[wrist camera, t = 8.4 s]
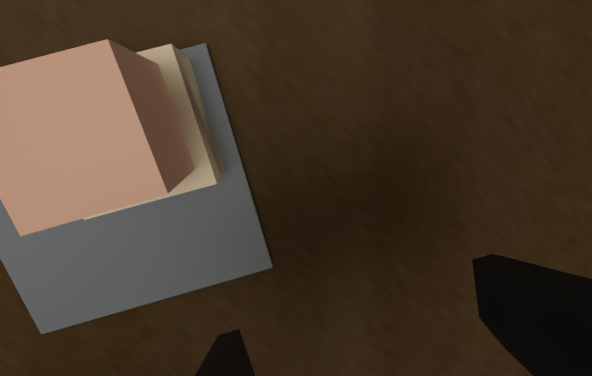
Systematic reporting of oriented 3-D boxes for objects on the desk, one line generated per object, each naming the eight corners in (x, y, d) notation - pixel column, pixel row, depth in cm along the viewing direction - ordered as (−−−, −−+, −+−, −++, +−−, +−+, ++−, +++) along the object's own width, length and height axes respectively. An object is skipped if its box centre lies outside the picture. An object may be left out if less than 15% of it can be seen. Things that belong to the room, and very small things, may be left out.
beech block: (224, 170, 18) (216, 183, 14) (117, 199, 17) (83, 220, 14) (189, 58, 16) (171, 43, 13) (71, 87, 16) (20, 80, 13)
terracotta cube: (195, 168, 14) (168, 193, 10) (94, 197, 14) (20, 236, 10) (157, 63, 13) (107, 39, 9) (47, 93, 13) (-62, 83, 8)
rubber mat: (272, 263, 20) (272, 267, 19) (46, 328, 19) (41, 334, 19) (206, 45, 17) (205, 43, 16) (-69, 113, 16) (-79, 113, 15)
